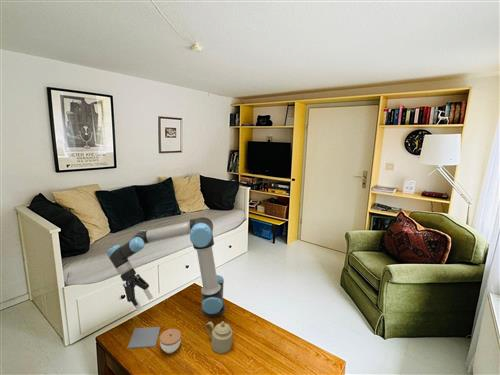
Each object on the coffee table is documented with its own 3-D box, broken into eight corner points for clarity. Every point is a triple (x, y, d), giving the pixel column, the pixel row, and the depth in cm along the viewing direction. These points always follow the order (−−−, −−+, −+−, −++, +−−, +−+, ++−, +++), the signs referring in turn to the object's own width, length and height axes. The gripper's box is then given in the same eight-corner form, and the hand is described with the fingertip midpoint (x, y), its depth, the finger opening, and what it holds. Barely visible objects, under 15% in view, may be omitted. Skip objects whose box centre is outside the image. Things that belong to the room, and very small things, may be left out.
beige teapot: (202, 352, 137) (203, 327, 134) (206, 336, 148) (207, 313, 145) (230, 354, 137) (232, 329, 134) (232, 338, 148) (233, 314, 145)
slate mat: (160, 327, 152) (160, 326, 152) (155, 346, 139) (155, 345, 139) (134, 329, 150) (134, 328, 150) (127, 348, 137) (127, 347, 136)
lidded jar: (159, 343, 141) (158, 328, 139) (179, 338, 145) (179, 323, 143) (160, 359, 131) (160, 343, 129) (182, 353, 135) (182, 337, 134)
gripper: (132, 268, 158) (150, 298, 157) (107, 283, 133) (129, 319, 132) (142, 261, 158) (160, 291, 157) (119, 275, 133) (141, 311, 132)
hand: (146, 304), depth 145 cm, fingers open, 13 cm apart
